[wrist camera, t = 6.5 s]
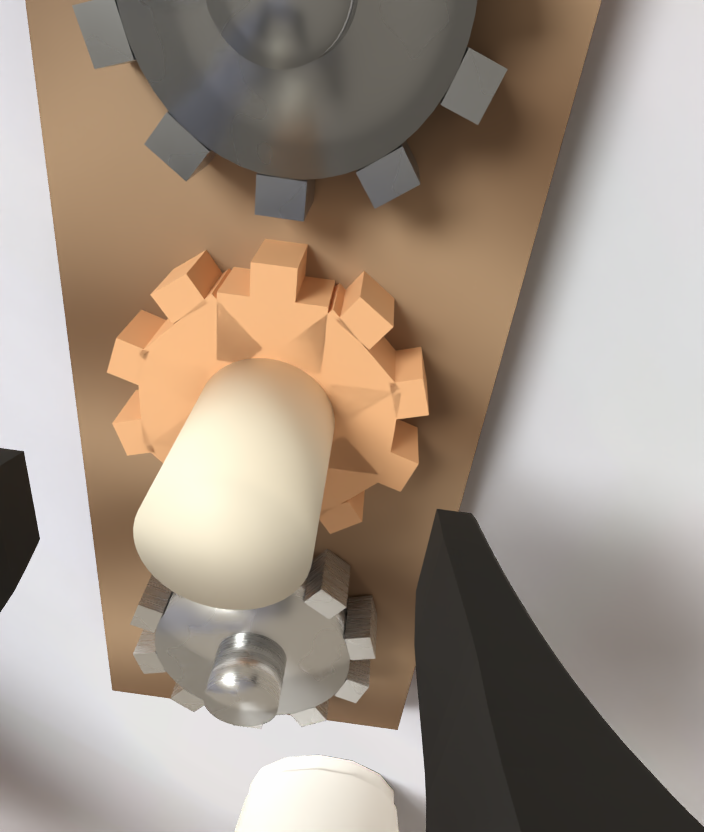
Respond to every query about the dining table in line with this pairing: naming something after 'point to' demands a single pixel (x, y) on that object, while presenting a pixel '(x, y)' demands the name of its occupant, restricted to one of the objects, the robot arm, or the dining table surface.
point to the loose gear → (261, 420)
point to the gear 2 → (262, 649)
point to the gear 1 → (296, 85)
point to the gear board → (326, 258)
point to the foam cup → (318, 798)
